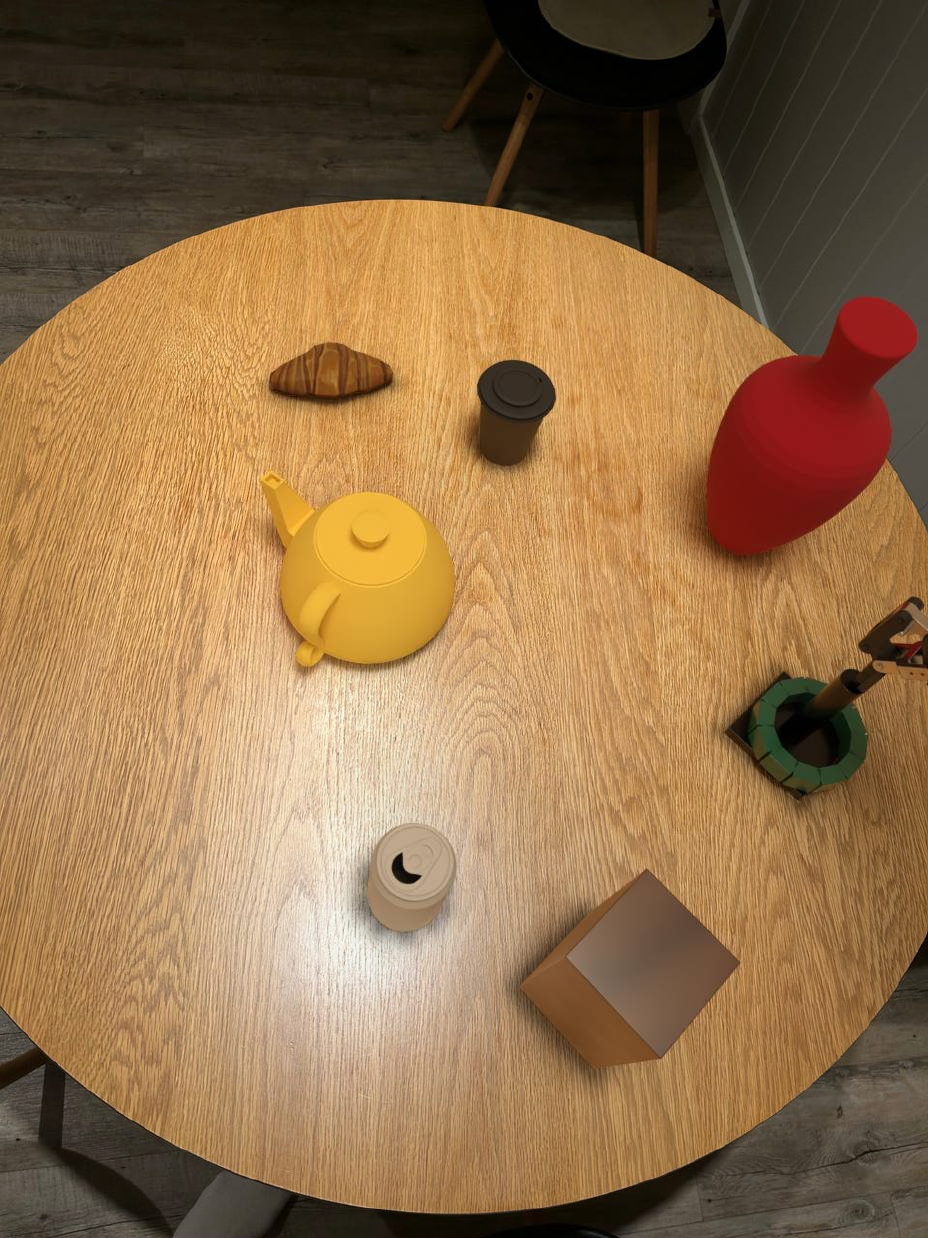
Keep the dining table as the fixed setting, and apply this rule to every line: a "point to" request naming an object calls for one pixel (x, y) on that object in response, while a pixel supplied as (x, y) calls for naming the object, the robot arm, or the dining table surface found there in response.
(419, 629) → the teapot
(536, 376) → the coffee cup
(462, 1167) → the dining table surface
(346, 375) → the croissant
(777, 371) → the vase
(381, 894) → the beverage can
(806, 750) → the post
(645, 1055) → the brown rectangular block
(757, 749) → the ring
